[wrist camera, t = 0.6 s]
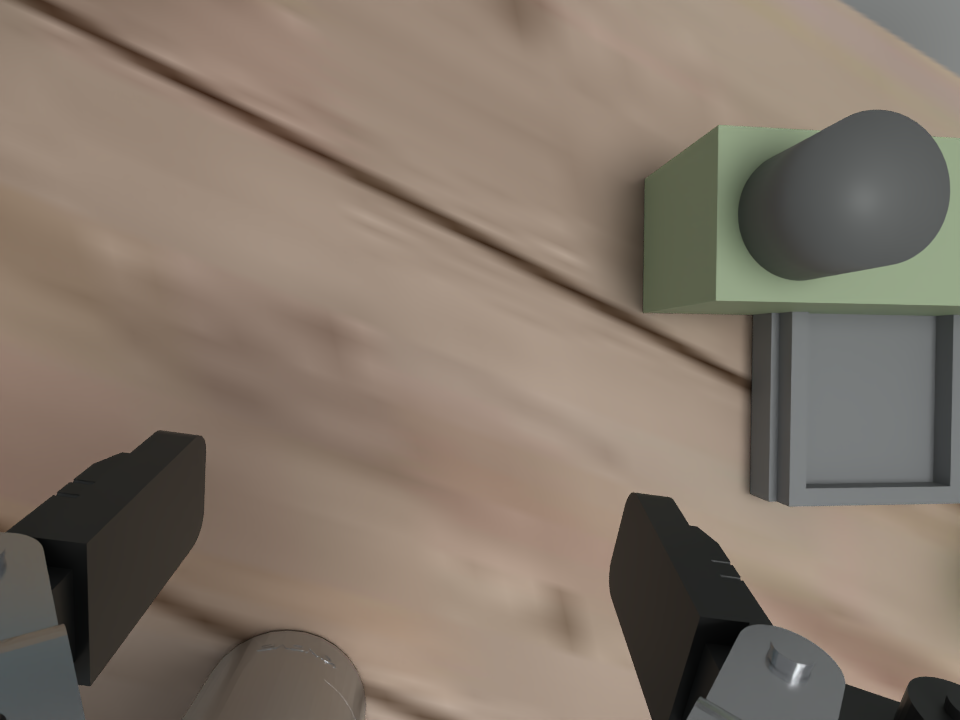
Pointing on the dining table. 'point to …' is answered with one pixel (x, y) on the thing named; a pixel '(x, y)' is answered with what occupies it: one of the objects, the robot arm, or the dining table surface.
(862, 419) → the green block with tray
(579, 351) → the dining table surface
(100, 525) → the robot arm
